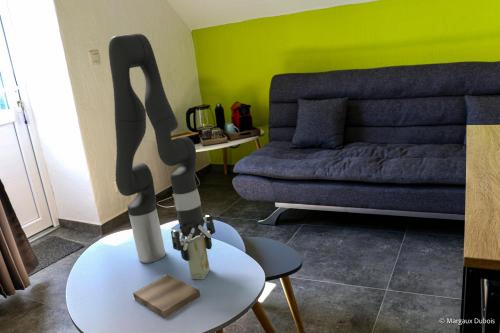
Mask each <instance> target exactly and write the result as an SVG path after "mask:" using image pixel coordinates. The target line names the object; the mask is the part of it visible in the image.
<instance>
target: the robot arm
mask: <svg viewBox="0 0 500 333" xmlns="http://www.w3.org/2000/svg"><path fill="white" fill-rule="evenodd" d="M108 60H109V66H110V73H111V80H112V81H111V82H112V87H113V101H114V128H115V139H116V142H115V143H116V144H115V145H116V159H115V182H116V187H117V190H118V192H119V193H120V195H122V196H124V197H130V196H133V195H135V197H134V198H133V200H131V202H129V204H128V205H127V212H128V217H129V221H130V225H131V228H132V229H131V230H132V235H133V236H132V237H133V239H134V243H135V247H136V252H137V258H138V260H139V262H140V263H146V264H148V263H153V262H154V263H155V262H157V261H159V260H162V259H163V258H164V257H165V256H166V250H165V243H164V239H163V235H162V229H161V223H160V219H159V215H158V210H157V203H156V202H157V197H156V190H155V184H154V183H155V182H154V178H153V174H152V172H151V169H150V168H149V166H148V164H146V163H144V162H138V163H134V158H135V155H136V152H137V151H138V148H139V147H140V145H141V144H142V142H143V139H144V137H145V134H146V131H147V117H148V119H149V122H150V124H151V126H152V128H153V130H154V135H155V141H156V148H157V153H158V156H159V158H160V160H161V162H162V163H163V164H165V166H169V167H173V166H176V165H178V166H177V169H176V170H175V171H173V172H172V173H171V175H170V182H171V183H170V184H171V187H172V192H173V202H174V207H175V212H176V217H177V221H178V223H179V228H178V229H172V230H171V231H170V234H171V235H170V236H171V242H172V248H173V250H176V251H178V252H180V256H181V259H182V260H184V261H185V262H188V261H189V260H190V259H189V254H188V249H187V246H188V243H190V241H191V238H192V239H193V238H194V237H196V236H199V235H200V234H204V239H205V245H206V250H211V249H212V247H213V242H212V236H213V234H216V228H215V225H214V224H215V223H214V221H213V216H212V215H209V214H205V215H204V213H203V212H204V211H203V208H202V203H201V202H202V201H201V198H200V197H201V196H200V194H199V190H198V187H197V186H198V185H197V180H196V177H195V176H196V175H195V172H196V163H197V162H196V161H197V160H196V159H197V150H196V146H195V144H194V141H193V140H191V138H189V137H188V136H180V137H177V138H173V139H172V132H174V131H175V130H176V129H177V128H178V127H179V122H178V119H177V117H176V116H175V113H174V111H173V109H172V106H171V104H170V102H169V100H168V97H167V94H166V91H165V88H164V85H163V82H162V77H161V74H160V70H159V66H158V63H157V59H156V57H155V53H154V50H153V47H152V45H151V42H150V41H149V38H148V37H147V36H146V35H144V34H142V33H130V34H129V33H128V34H119V35H114V36H112V37H111V38H110V40H109V42H108ZM134 68H140V70H141V71H142V74H143V76H144V80H145V94H144V104H143V101H141V99H140V98H139V96H138V95H137V93H136V92H135V90H134V88H133V86H132V82H131V78H130V77H131V74H130V70H131V69H134ZM204 225H205V226H206V228H205V227H204Z"/></svg>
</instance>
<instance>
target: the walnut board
mask: <svg viewBox="0 0 500 333" xmlns="http://www.w3.org/2000/svg"><path fill="white" fill-rule="evenodd" d="M132 295H133V298H135V299H134V300H135V301H137V300H138V303H140V302H141V304H144V306H145V307H146V308H148V309H149V310H152V311H153V312H155V313H156V314H158V315H159V316H161V317H162V318H164V319H166V318H167V317H169V316H171V315H172V314H174V313H175V312H177V311H179V310H180V309H182V308H184V307H185V306H187V305H189V304H190V303H192V302H194V301H195V300H197V299H199V298H201V292H200V289H198V288H196V287H193V286H191V285H190V284H188V283H186V282H183V281H182V280H180V279H178V278H176V277H173V276H172V275H169V274H166V275H164V276H161V277H160V278H158V279H156V280H154V281H152V282H151V283H148V284H147V285H144V286H143V287H141V288H139V289H137V290H136V291H133V293H132Z"/></svg>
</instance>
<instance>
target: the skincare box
mask: <svg viewBox="0 0 500 333" xmlns="http://www.w3.org/2000/svg"><path fill="white" fill-rule="evenodd" d="M204 237H205V236H204V234H200V235H199V236H196V237H194V238H193V239H192V238H191V241H190V243H188V246H187V249H188V254H189V259H190V260H189V261H187V263H188V268H189V273H190V279H191V280H204V279H205V278H206V276H207V275H208V274H209V272H210V269H211V268H210V262H209V257H208V251H207V249H206V245H205V239H204Z"/></svg>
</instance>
